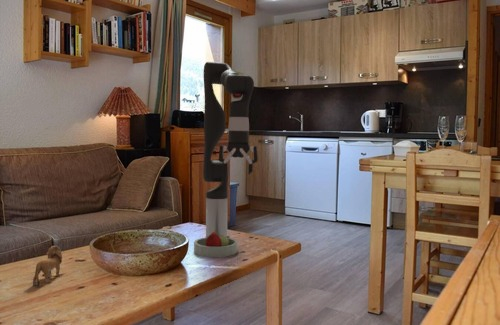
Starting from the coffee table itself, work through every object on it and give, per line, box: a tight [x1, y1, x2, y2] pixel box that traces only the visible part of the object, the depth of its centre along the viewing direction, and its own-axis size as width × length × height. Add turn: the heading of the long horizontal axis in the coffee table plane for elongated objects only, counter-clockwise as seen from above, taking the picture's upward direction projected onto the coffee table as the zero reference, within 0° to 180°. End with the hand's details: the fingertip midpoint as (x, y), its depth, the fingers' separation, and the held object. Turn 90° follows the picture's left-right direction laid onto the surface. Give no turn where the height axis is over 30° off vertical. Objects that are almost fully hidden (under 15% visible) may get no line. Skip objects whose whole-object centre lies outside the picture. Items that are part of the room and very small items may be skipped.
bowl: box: [193, 236, 239, 258], centre depth 163 cm, size 16×16×4 cm
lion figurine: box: [32, 245, 63, 287], centre depth 131 cm, size 15×5×9 cm, turn 5°
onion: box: [206, 231, 221, 247], centre depth 160 cm, size 6×6×8 cm
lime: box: [220, 236, 229, 246], centre depth 165 cm, size 5×5×5 cm
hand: (238, 173), depth 160 cm, fingers open, 8 cm apart
